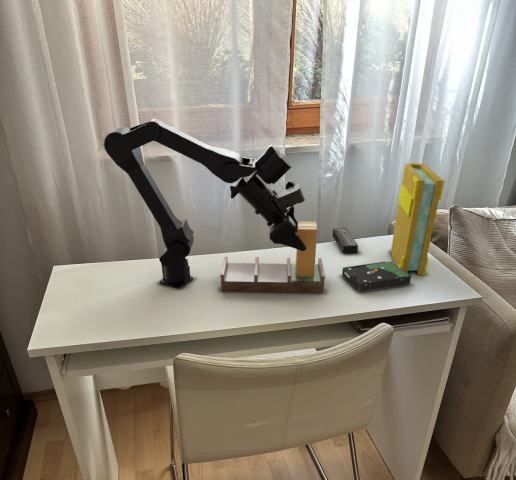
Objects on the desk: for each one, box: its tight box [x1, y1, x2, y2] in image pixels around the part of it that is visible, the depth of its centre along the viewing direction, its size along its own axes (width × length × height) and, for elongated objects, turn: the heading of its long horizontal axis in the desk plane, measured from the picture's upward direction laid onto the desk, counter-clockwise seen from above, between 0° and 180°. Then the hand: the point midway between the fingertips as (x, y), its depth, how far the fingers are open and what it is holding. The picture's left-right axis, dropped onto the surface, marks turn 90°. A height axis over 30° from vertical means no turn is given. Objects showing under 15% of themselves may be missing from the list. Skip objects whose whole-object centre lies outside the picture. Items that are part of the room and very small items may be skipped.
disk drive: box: [341, 260, 412, 293], centre depth 130 cm, size 10×3×15 cm
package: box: [295, 220, 318, 277], centre depth 124 cm, size 4×6×13 cm
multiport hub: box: [331, 227, 359, 254], centre depth 151 cm, size 4×14×2 cm, turn 6°
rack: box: [220, 256, 326, 294], centre depth 128 cm, size 26×11×5 cm, turn 88°
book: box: [390, 162, 446, 276], centre depth 134 cm, size 17×7×25 cm, turn 179°
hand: (304, 242), depth 123 cm, fingers open, 9 cm apart
